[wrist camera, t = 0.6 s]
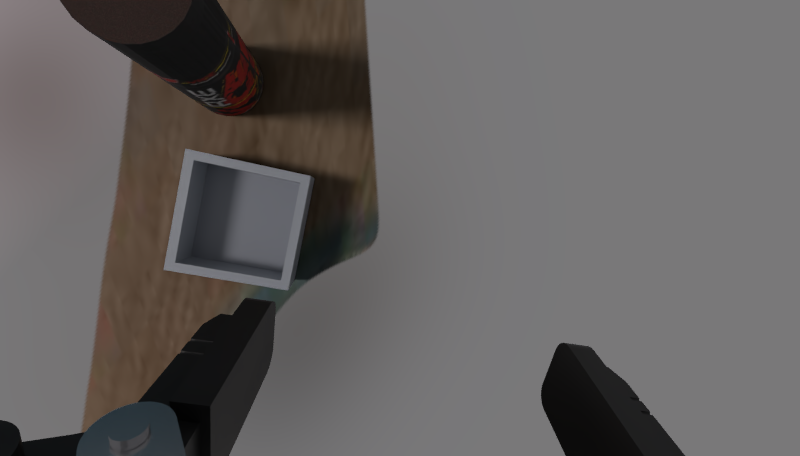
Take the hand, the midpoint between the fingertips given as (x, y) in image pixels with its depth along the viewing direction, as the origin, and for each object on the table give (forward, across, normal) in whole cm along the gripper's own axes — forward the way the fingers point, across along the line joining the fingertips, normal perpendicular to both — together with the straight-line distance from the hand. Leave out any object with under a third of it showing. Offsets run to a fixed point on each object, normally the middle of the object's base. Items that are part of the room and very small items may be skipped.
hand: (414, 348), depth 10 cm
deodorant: (+26, +16, -5) cm, 31 cm away
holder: (+23, +12, +6) cm, 27 cm away
